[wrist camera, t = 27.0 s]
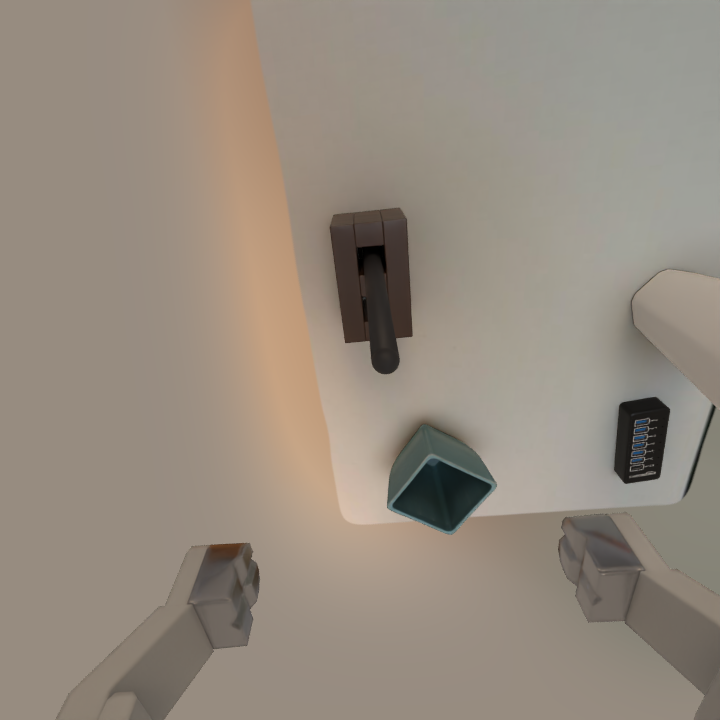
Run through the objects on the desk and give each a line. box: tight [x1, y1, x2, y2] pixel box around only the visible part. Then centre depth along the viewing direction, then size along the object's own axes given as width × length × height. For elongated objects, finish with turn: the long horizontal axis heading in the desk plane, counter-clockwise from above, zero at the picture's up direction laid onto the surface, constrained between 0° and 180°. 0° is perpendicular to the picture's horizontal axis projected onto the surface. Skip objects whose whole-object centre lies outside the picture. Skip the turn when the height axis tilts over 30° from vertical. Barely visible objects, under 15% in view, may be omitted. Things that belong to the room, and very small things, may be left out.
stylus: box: [362, 246, 400, 374], centre depth 33 cm, size 2×2×22 cm
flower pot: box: [387, 424, 497, 535], centre depth 50 cm, size 9×9×9 cm
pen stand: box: [330, 208, 413, 343], centre depth 41 cm, size 6×11×6 cm, turn 6°
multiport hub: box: [614, 397, 670, 484], centre depth 52 cm, size 4×11×2 cm, turn 12°
